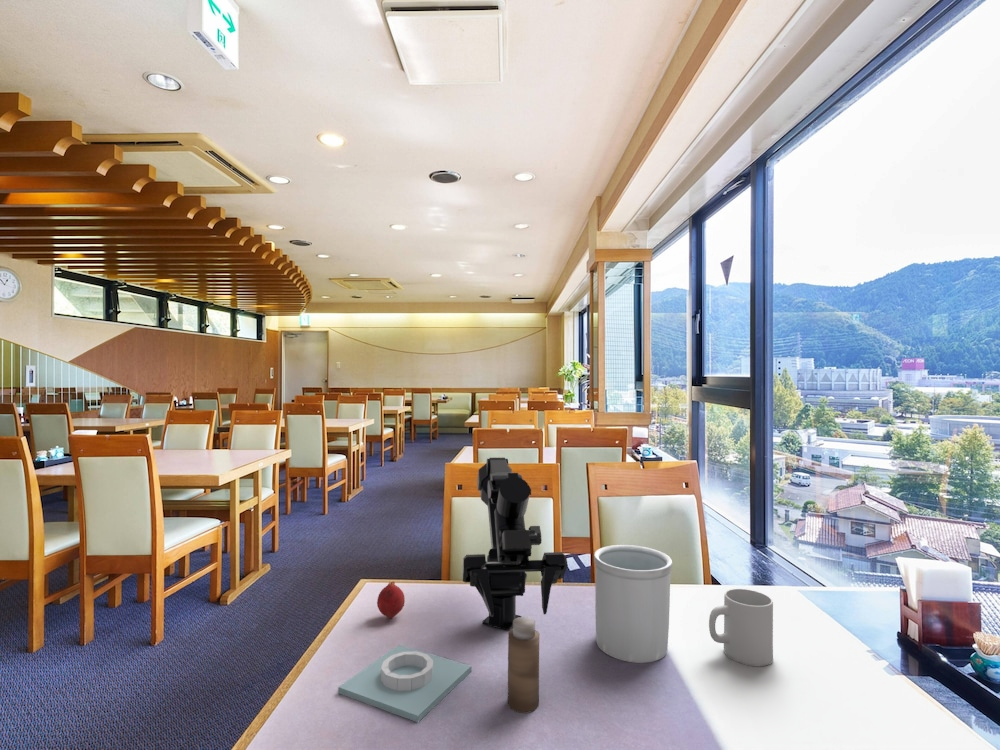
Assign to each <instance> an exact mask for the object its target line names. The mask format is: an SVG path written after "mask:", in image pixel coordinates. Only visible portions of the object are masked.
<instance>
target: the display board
mask: <svg viewBox="0 0 1000 750" xmlns="http://www.w3.org/2000/svg"><path fill="white" fill-rule="evenodd" d="M470 673H472V665H470V664H466V663H463V662H459V661H456V660H454V659H453V660H452V659H449V658H445V657H442V656H439V655H435V654H432V653H429V652H426V651H423V650H420V649H415V648H412V647H408V646H405V645H401V644H398V645H396V646H395V647H394V648H392V649H391V650H389V651H388V652H387V653H384V655H382V656H380V657H379V658H378V659H376V660H375V661H374V662H372V663H371V664H369V665H368V666H367V667H365V668H363V669H362V670H361V671H359V672H358V673H356V674H355V675H354V676H352V677H351V678H349V679H348V680H346V681H345V682H343V683H342V684H341V685H339V686H338V687H337V688H338V694H340V695H342V696H344V697H348V698H350V699H354V700H355V701H356V700H357V701H359V702H362V703H365V704H367V705H369V706H373V707H375V708H377V709H381V710H383V711H386V712H389V713H391V714H393V715H397V716H399V717H402V718H404V719H407V720H410V721H413V722H416V723H419V722H420V721H421V720H422V719H423V718H424V717H425V716H426V715H427V714H428V713H430V712H431V711H432V710H433V709H434V708H435V707H436V706H437V704H439V703H440V702H441V701H442V700H443V699H445V698H446V696H448V694H450V693H451V691H453V689H454V688H455V687H457V686H458V685H459V684H460V683H461V682H462V681H463V680H464V679H465V678H466V677H468V675H469V674H470Z"/></svg>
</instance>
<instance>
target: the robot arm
mask: <svg viewBox="0 0 1000 750" xmlns="http://www.w3.org/2000/svg"><path fill="white" fill-rule="evenodd" d="M476 481H477V483H476V484H477V487H476V488H477V491H478V492H479V493H480V500H481V501H482V502H483V503H484V504H485V505H486V506H487V513H488V522H489V523H488V524H489V533H490V545H491V546H490V547H491V548H489V551H488V555H487V556H486V554H485V553H484V554H483V553H481V554H479V553H477V554H466V555H464V557H463V558H462V571H461V572H462V582H464V583H465V584H466V583H469V586H470V587H472V588H473V587H475V589H476V590H477V592H478V594H480V595H479V596H481V598H482V600H483V602H484V604H485V605H484V606H485V607H486V609H487V611H488V616H487V617H485V618H484V619H483V620H482V624H483V625H485V626H490V627H493V628H498V629H502V630H505V631H510V630H512V629H513V620H514V619H515V618H518V617H523V616H522V615H519V614H517V613H516V610H517V605H516V603H517V602H516V599H517V598H516V597H517V596H518V597H519V596H520V597H523V596H524V594H525V593H526V583H527V582H526V581H527V577H528V576H527V575H528V574H527V573H529V572H533V573H535V572H540V574H541V577H542V578H541V579H540V591H541V592H540V594H541V608H542V613H543V615H547V613H548V609H549V608H548V605H549V600H550V593H551V589H552V585H555V584H557V583H558V581H559V580H561V579H564V576H565V574H566V571H567V568H568V566H569V565H568V559H567V556H566V554H565V553H563V551H560V552H559V551H557V552H554V551H551V552H543V556H542V559H533V560H531V559H530V557H531V556H532V546H540V545H541V544H542V533H541V532H542V531H541V527H540V525H530V526H529V527H528V529H526V523H525V514H526V513H527V509H528V505H529V500H530V496H532V489H531V486H530V485H529V483H528V482H527V481H526V480H525V479H523V476H522V475H521V474H520V473H518V472H513V469H512V468H511V467H510V466H509V459H508V458H506V457H489V458H486V463H485V464H484V465H482V466H481V467H480V468H478V471H477V480H476ZM526 572H527V573H526Z"/></svg>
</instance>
